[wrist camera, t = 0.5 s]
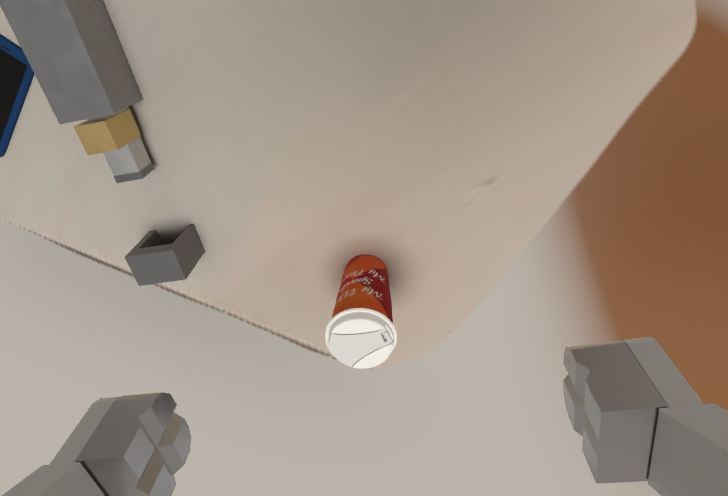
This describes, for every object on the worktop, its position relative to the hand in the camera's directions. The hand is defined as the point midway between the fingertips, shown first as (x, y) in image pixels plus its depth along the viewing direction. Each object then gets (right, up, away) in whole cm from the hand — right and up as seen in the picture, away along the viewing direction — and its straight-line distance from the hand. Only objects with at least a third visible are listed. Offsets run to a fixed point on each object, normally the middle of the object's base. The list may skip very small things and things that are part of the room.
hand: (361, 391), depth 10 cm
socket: (-24, +4, +51) cm, 56 cm away
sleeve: (-28, +24, +40) cm, 54 cm away
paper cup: (0, 0, +52) cm, 52 cm away
